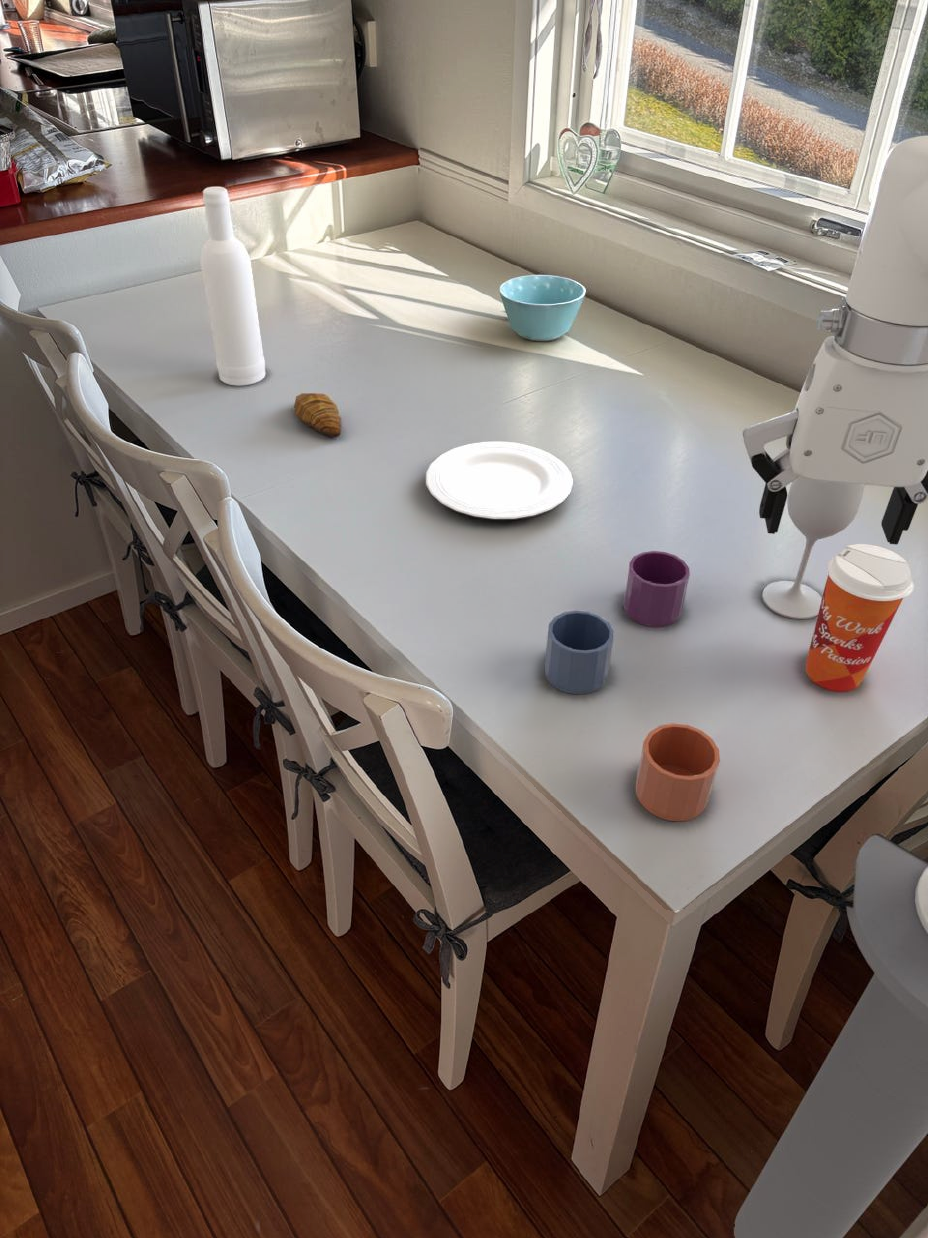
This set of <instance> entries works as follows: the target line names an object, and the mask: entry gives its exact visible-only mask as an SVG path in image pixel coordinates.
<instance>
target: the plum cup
mask: <svg viewBox="0 0 928 1238" xmlns="http://www.w3.org/2000/svg"><path fill="white" fill-rule="evenodd" d="M690 576H691V573H690V567H689V565H688V564H687V563H686V562H685V560H683V559H682V558H680V557H679V556H678V555H675V554H672V553H670V552H667V551H660V550H659V551H658V550H648V551H643V552H640V553H638V554H636V555H635V556H633V557H632V558H631V560H630V561H629V562H628V567H627V575H626V581H625V586H624V587H625V588H624V595H623V603H622V606H623V607H622V608H623V611H624V613H625V614H626V616H627V617H628V619H629V618H630V620H632V621H633V622H635V623H637V624H639V625H641V626H646V627H650V628H651V627H652V628H662V627H667V626H670V625H673V624H675V623H676V622H677V621H679V619H680V618H681V616H682V612H683V609H684V604H685V599H686V595H687V589H688V585H689V580H690Z"/></svg>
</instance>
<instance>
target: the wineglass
mask: <svg viewBox="0 0 928 1238" xmlns="http://www.w3.org/2000/svg"><path fill="white" fill-rule="evenodd" d="M865 486H866V485H859V484H847V483H835V482H824V481H815V480H808V479H804V478H802V477H798V478H796V479H795V480H794V481H792V482H791V483H790V486H789V489H788V493H787V500H786V506H787V513H788V516H789V518H790V520H791V521H792V523H793V525H794V527H795V528H796V529H797V530H798V531H800V533H801V534H802V535H803V536H804V537H805V538H806V542H805V548H804V551H803V554H802V557H801V561H800V563H799V566H798V570H797V574H796V577H795V580H794V581H791V580H778V581H777V580H776V581H774V582H771V583H769V584H767V585H766V586H765V587H764V588H763V590H762V593H761V598H762V601H763V603H764V604H765V606H766V607H767V608H768V609H769V610H771V611H772V612H774V613H776V614H777V615H780V616H782V617H785V618H789V619H794V620H809V619H811V618H812V619H813V618H816V617H818V613H819V609H820V604H821V600H822V596H821V595H820V594H819V593H818V592H817V591H816V590H815V589H814V588H812V587H810V586H808V585H807V584H804V583H802V581H803V578H804V576H805V572H806V570H807V566H808V563H809V558H810V556H811V553H812V550H813V547H814V545H815V543H816V542H817V541H818V540H821V539H822V540H823V539H826V538H829V537H833V536H834V535H837V534H838V533H841V532H842V531H844V530H845V529H847V527H848V526H849V525H850V524H852V522H853V521H854V520H855V518H856V516H857V515H858V511H859V509H860V507H861V504H862V500H863V496H864V492H865V491H864V490H865Z"/></svg>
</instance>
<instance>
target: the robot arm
mask: <svg viewBox="0 0 928 1238" xmlns="http://www.w3.org/2000/svg"><path fill="white" fill-rule="evenodd" d="M817 330H819V331H827V332H828V333H832V335H829V336H828V337H826V338H825V339H824V341H823V343H822V344H821V346H820V348H819V350H818V352H817V354H816V356H815V358H814V360H813V362H812V365H811V367H810V369H809V371H808V373H807V375H806V377H805V380H804V383H803V385H802V388H801V391H800V394H799V396H798V399H797V402H796V404H795V407H794V410H793V411H792V412H788V413H785V414H783V415H779V416H776V417H774V418H771V419H768V420H764V421H762V422H760V423H757V424H753V425H751V426H748V427H745V428H744V429H743V430H742V439H743V443H744V446H745V449H746V453H747V455H748V457H749V460H750V463H751V467H752V469H753V470H754V471H755V472H756V474H757V475H758V476H759V477H760V478H761V479H762V480H763V481H764V483H765V484H764V488H763V493H762V496H761V498H760V499H761V500H760V503H759V507H758V508H759V510H758V514H759V519H764V521H765V527H766V531H767V533H768V534H772V535H775V534H776V533H778V532H779V528H780V525H781V521H782V517H783V514H784V510H785V506H786V504H787V500H788V490H787V486H788V485H790V484H792V481H794V480H795V479H796V478H798V477H802V478H804V479H808V480H815V481H824V482H835V483H847V484H859V485H865V486H873V487H887V488H888V487H889V488H893V489H892V491H891V494H890V496H889V499H888V503H887V505H886V508H885V511H884V514H883V516H882V519H881V522H880V523H881V529H882V531H883V533H884V534H883V535H884V536H885V539H886V541H887V543H889V544H890V545H898V544H899V542H900V540H901V538H902V535H903V533H904V532H907V531H909V529H910V526H911V524H912V521H913V519H914V516H915V513H916V512H917V511H916V510H917V508H918V506H919V504H923V503H925V502H926V501H927V500H928V135H920V136H914V137H909V138H906V139H904V140H902V141H900V142H898V143H896V145H894V146H893V147H892V148H891V149H890V151H889V152H888V153H887V154H886V157H885V159H884V161H883V164H882V167H881V170H880V172H879V176H878V179H877V184H876V187H875V190H874V193H873V197H872V201H871V205H870V208H869V212H868V215H867V218H866V223H865V226H864V230H863V232H862V237H861V241H860V244H859V247H858V251H857V255H856V258H855V262H854V266H853V270H852V273H851V277H850V280H849V284H848V288H847V292H846V295H845V297H842V298H841V301H840V304H839V305H838V306H837V308H832V309H831V310H821V311H820V312H819V315H818V320H817ZM785 437H786V438H785ZM783 438H785V447H786V449H785V450H783V451H782V452H780V454H778V455H776V456H775V457H774V458H772V457H771V456H770V454H769V453H768V452H767V451H766V449H765V445H767V444H768V443H770V442H774V441H776V440H779V439H783ZM915 904H916V909H917V913H918V916H919V918H920V921H921V923H922V925H923V927H924V929H925V930H926V932H927V934H928V867H927V868H926V869H925V870H924V872H923V874H922V875H921V877H920V879H919V881H918V884H917V887H916V890H915Z"/></svg>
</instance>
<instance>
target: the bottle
mask: <svg viewBox="0 0 928 1238" xmlns="http://www.w3.org/2000/svg"><path fill="white" fill-rule="evenodd" d="M202 195H203V197H202V202H203V204H204V207H205V214H206V220H207V227H208V233H209V238H208V239H207V241H206V242H205V243H204V244H203V246H202V248H201V251H200V258H199V263H200V269H201V274H202V281H203V288H204V294H205V300H206V305H207V312H208V317H209V324H210V330H211V335H212V342H213V347H214V353H215V361H216V368H217V372H218V378H219V380H220V381H221V382H223V383H224V384H227V385H229V386H237V387H241V386H250V385H254V384H256V383H259V382H261V381H262V380H263V379H264V378H265V376H266V361H265V357H264V352H263V343H262V335H261V327H260V321H259V320H260V319H259V313H258V307H257V297H256V290H255V283H254V276H253V267H252V261H251V257H250V255H249V252H248V250H247V248H246V246H245V245H244V243H243V242H242V241H240V240H239V238H237V236H235V235H234V228H233V222H232V215H231V206H230V202H231V199H230V196H229V192H228V189H227V188H225V187H223V186H207V187H206V188H204V189H203V190H202Z"/></svg>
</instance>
